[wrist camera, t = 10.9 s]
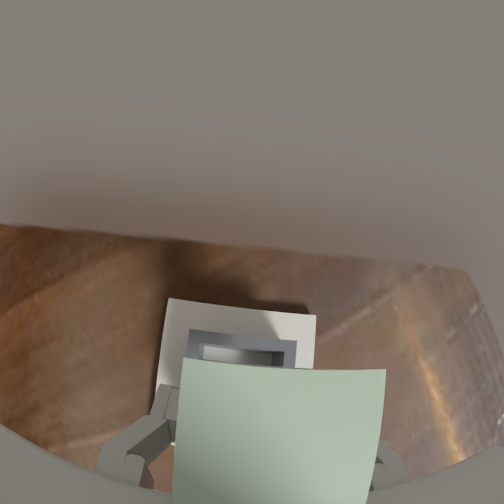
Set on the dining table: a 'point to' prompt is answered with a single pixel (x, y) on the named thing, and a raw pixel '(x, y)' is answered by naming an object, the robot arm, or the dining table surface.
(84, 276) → the dining table surface
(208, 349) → the well stand
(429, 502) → the robot arm
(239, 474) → the sage block
